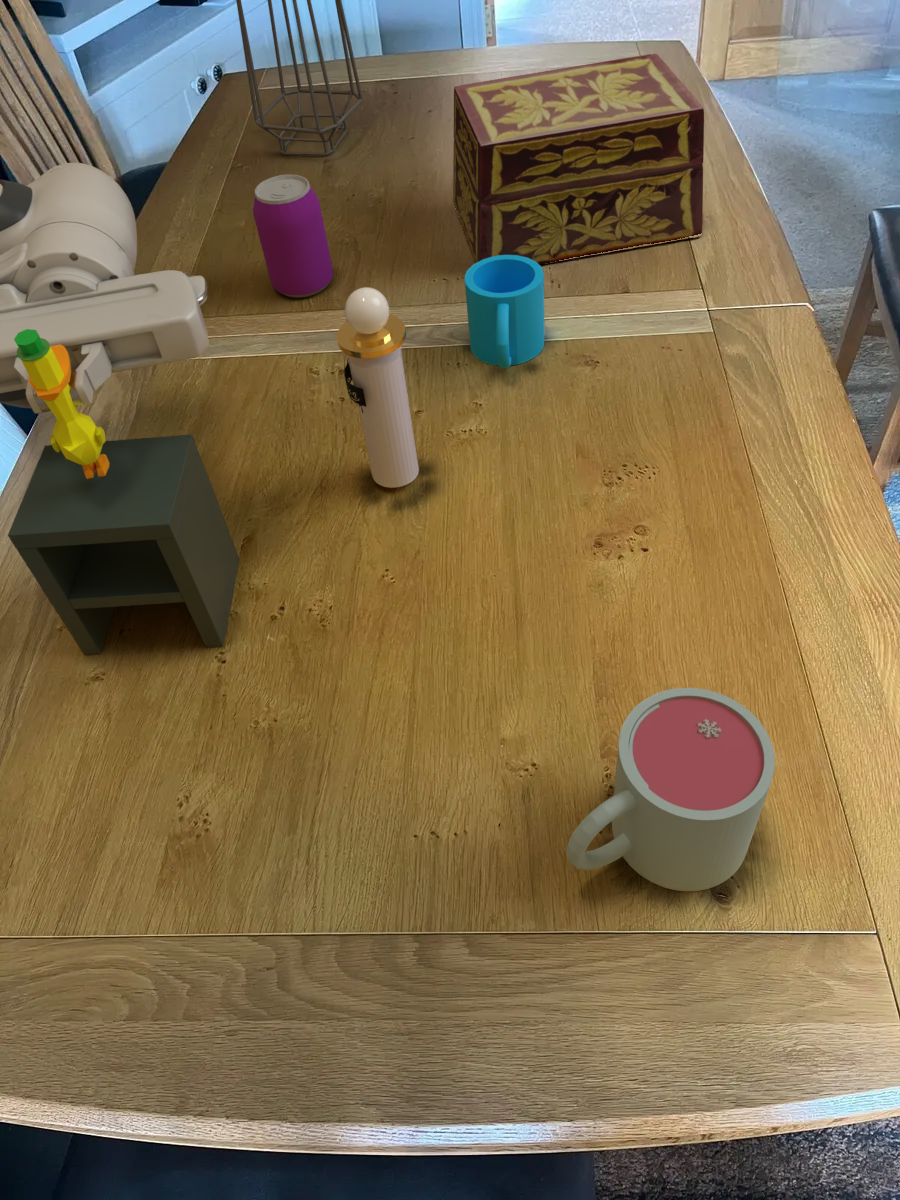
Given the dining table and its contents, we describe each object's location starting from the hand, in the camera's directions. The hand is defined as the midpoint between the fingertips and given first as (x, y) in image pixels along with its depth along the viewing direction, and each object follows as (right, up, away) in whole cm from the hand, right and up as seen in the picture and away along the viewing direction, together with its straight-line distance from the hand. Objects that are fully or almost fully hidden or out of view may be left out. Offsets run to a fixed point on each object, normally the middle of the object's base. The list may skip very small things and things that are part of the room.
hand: (58, 401), depth 64 cm
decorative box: (+42, +34, +55) cm, 77 cm away
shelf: (+2, -14, +18) cm, 23 cm away
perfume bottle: (+22, -2, +26) cm, 34 cm away
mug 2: (+41, -30, 0) cm, 51 cm away
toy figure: (0, -4, +6) cm, 7 cm away
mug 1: (+33, +13, +37) cm, 52 cm away
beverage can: (+9, +25, +50) cm, 57 cm away
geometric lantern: (+7, +54, +76) cm, 93 cm away
